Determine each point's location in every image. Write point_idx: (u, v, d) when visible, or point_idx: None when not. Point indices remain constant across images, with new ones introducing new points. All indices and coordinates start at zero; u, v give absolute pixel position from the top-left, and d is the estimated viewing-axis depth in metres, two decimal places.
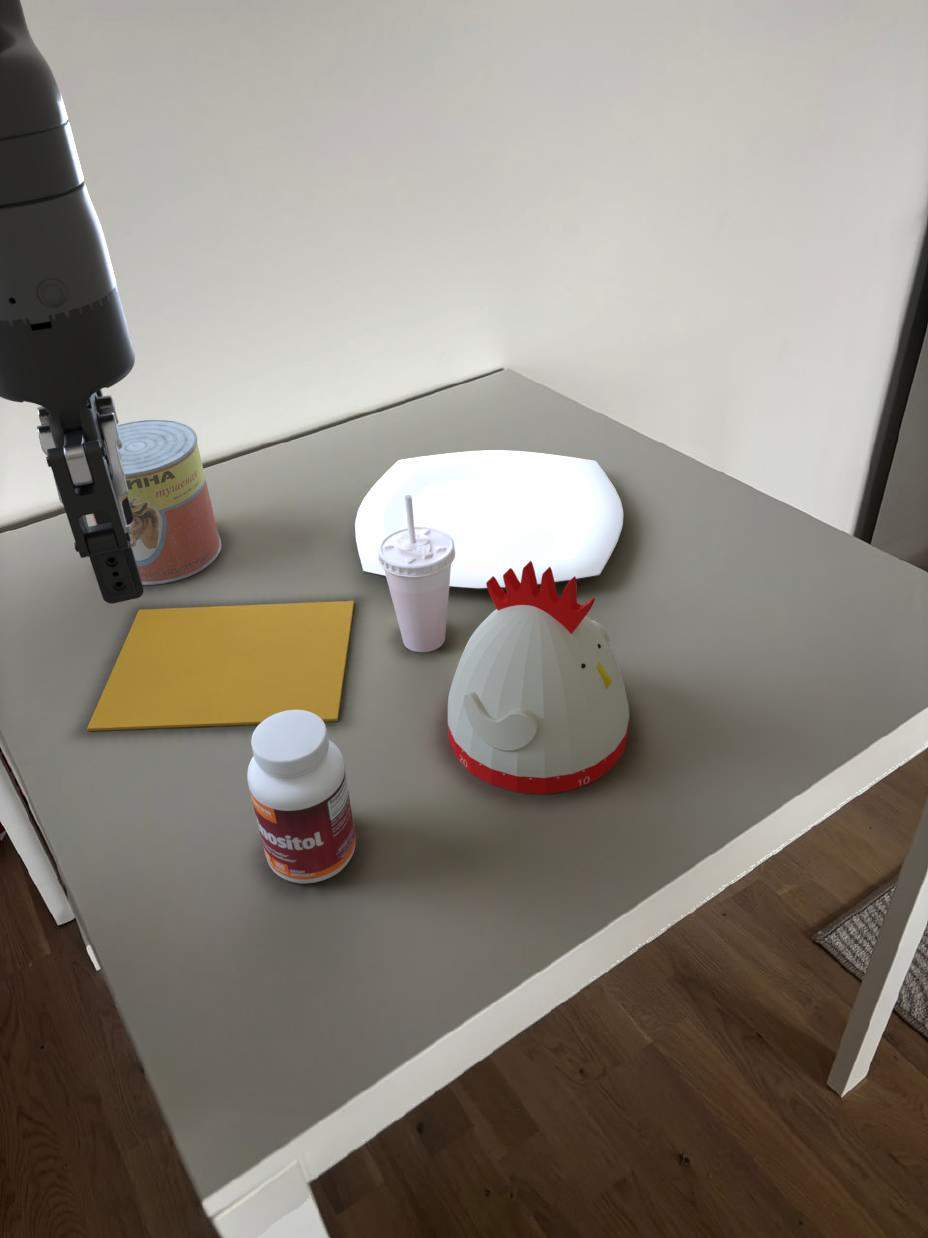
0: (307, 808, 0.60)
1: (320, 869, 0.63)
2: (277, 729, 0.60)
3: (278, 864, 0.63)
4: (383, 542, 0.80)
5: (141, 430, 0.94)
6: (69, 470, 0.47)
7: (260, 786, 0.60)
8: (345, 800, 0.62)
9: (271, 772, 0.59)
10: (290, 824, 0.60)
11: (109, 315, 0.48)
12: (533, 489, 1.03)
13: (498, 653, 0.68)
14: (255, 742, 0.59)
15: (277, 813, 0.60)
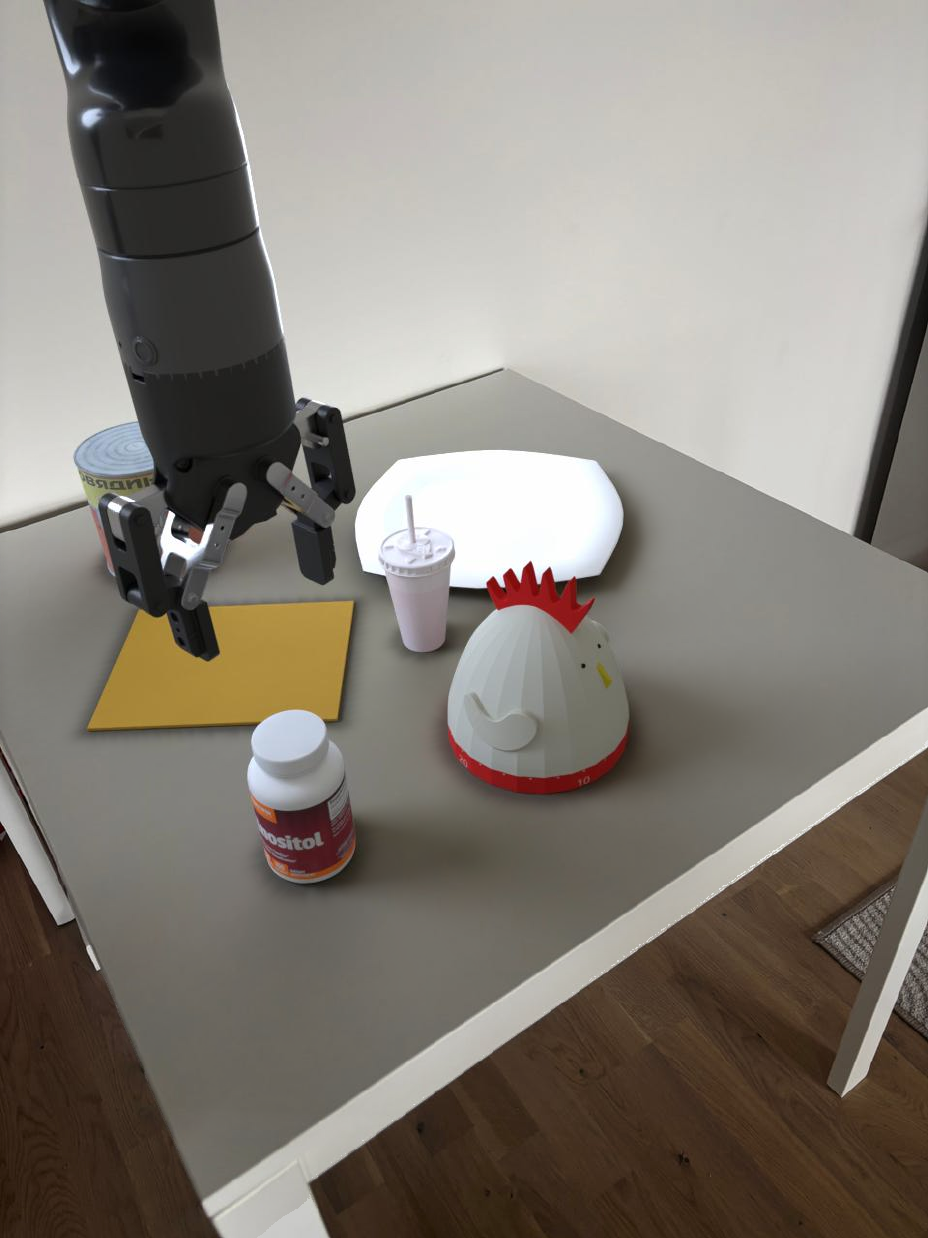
0: (307, 808, 0.60)
1: (320, 869, 0.63)
2: (277, 729, 0.60)
3: (278, 864, 0.63)
4: (383, 542, 0.80)
5: None
6: (109, 521, 0.45)
7: (261, 786, 0.60)
8: (345, 800, 0.62)
9: (271, 772, 0.59)
10: (290, 824, 0.60)
11: (214, 391, 0.43)
12: (533, 489, 1.03)
13: (498, 653, 0.68)
14: (255, 742, 0.59)
15: (277, 813, 0.60)
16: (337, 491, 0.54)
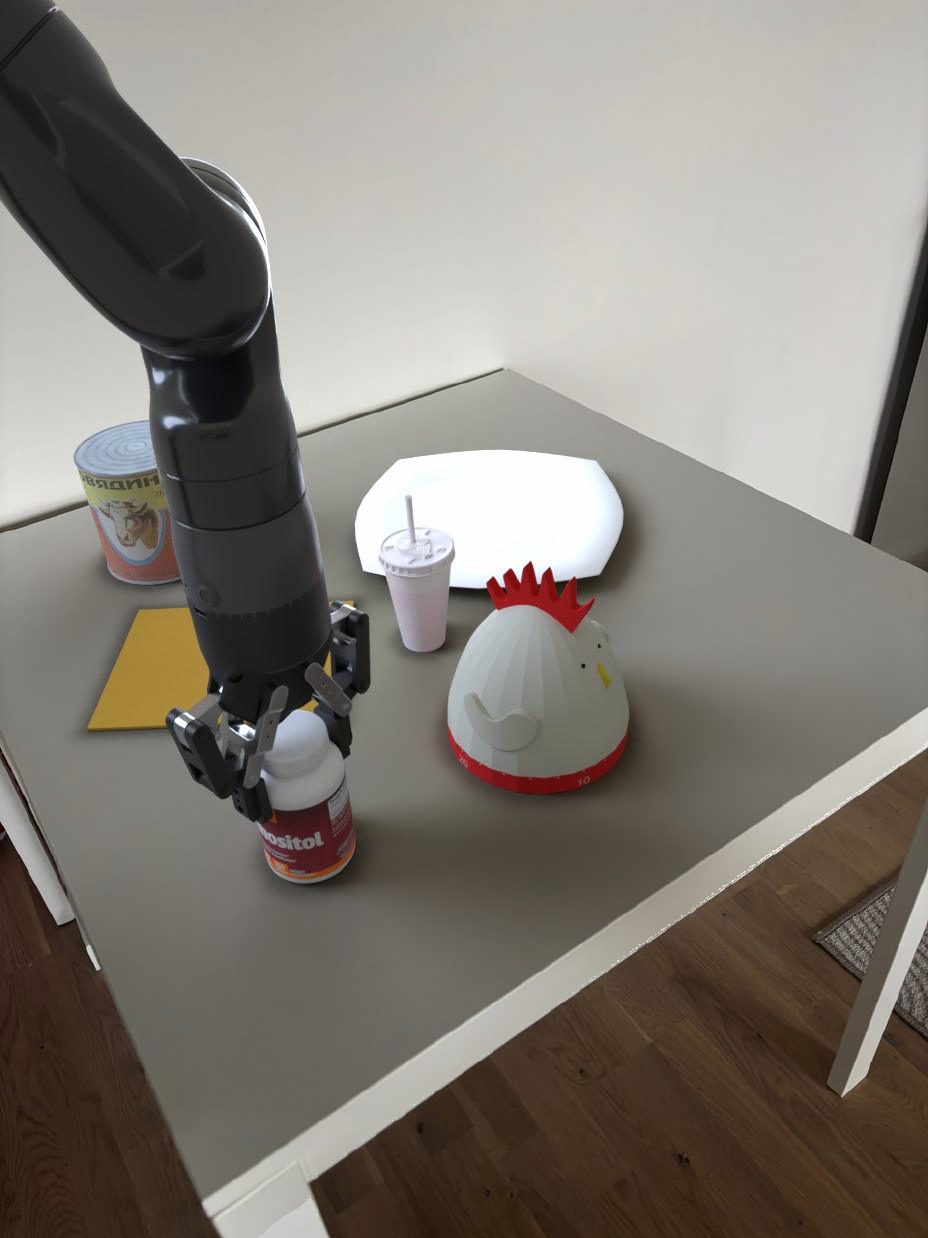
0: (307, 807, 0.60)
1: (320, 869, 0.63)
2: (277, 729, 0.60)
3: (278, 864, 0.63)
4: (383, 542, 0.80)
5: (141, 430, 0.94)
6: (176, 734, 0.53)
7: None
8: (345, 800, 0.62)
9: (271, 772, 0.59)
10: (290, 824, 0.60)
11: (265, 625, 0.50)
12: (533, 489, 1.03)
13: (498, 653, 0.68)
14: None
15: (277, 813, 0.60)
16: (355, 683, 0.62)
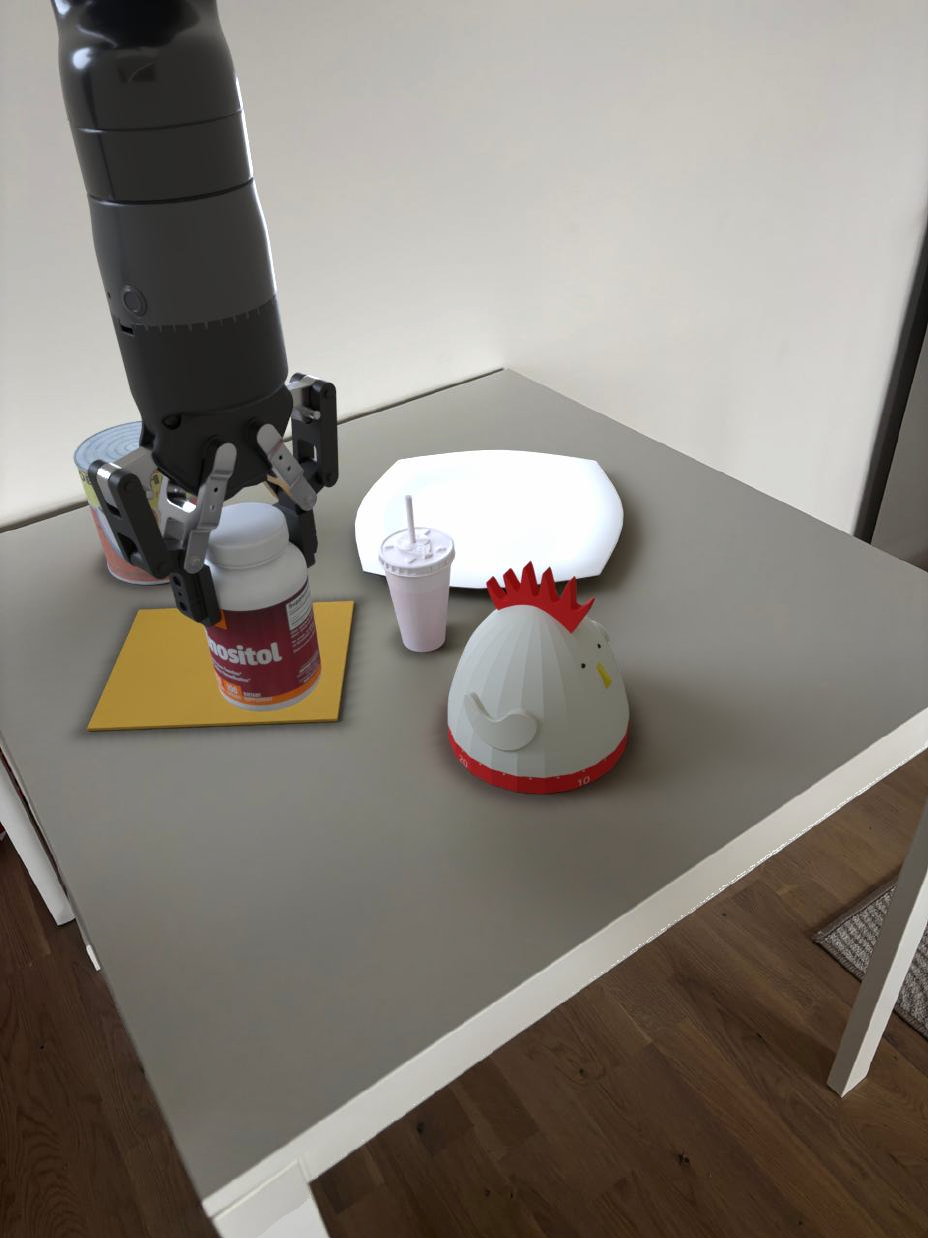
0: (261, 608, 0.51)
1: (278, 692, 0.55)
2: (228, 519, 0.52)
3: (230, 687, 0.55)
4: (383, 542, 0.80)
5: None
6: (101, 489, 0.45)
7: None
8: (307, 611, 0.54)
9: (219, 563, 0.50)
10: (242, 629, 0.52)
11: (203, 344, 0.42)
12: (533, 489, 1.03)
13: (498, 653, 0.68)
14: None
15: (226, 614, 0.51)
16: (320, 471, 0.53)
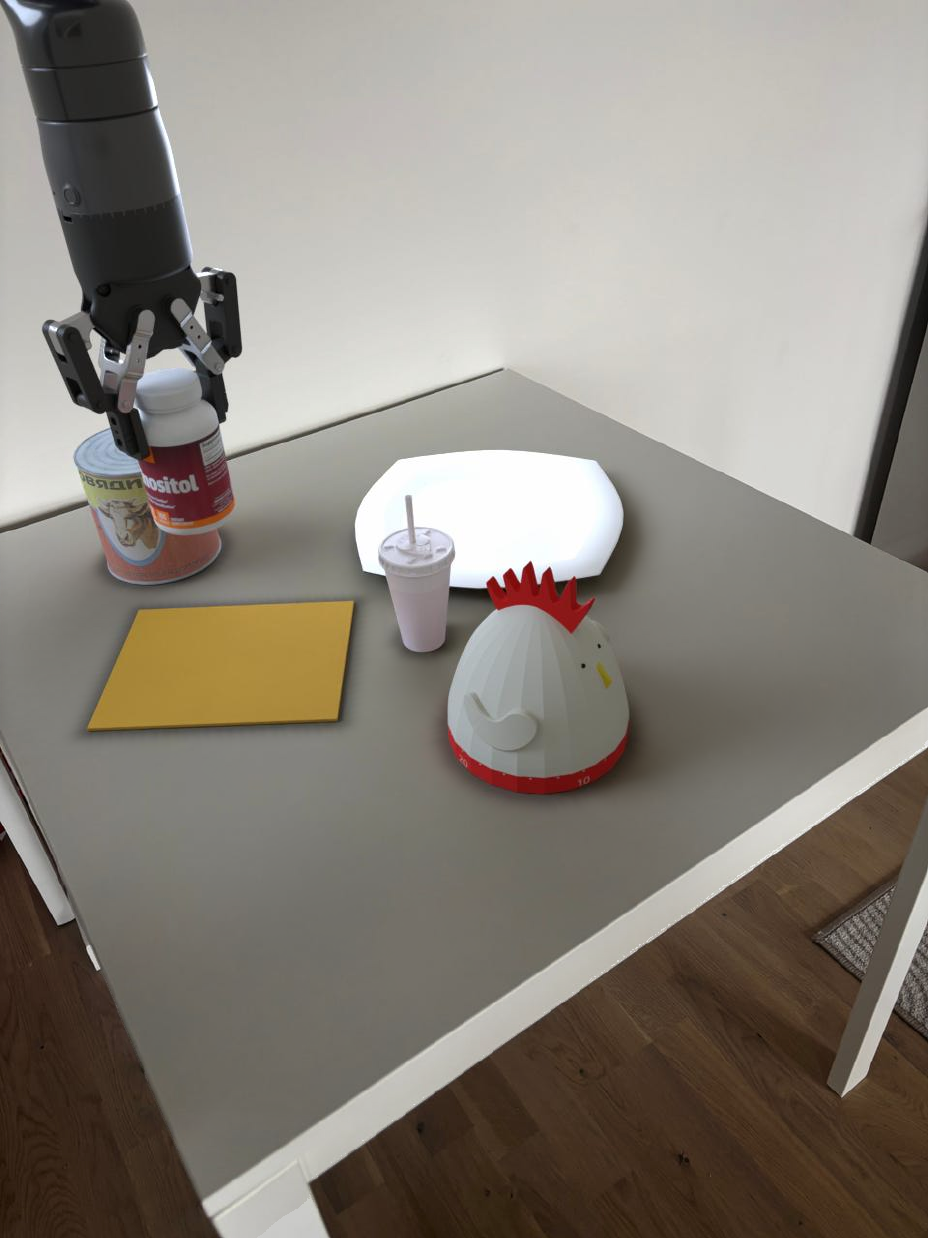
0: (179, 444, 0.67)
1: (197, 518, 0.71)
2: (155, 378, 0.68)
3: (160, 514, 0.71)
4: (383, 542, 0.80)
5: None
6: (52, 341, 0.61)
7: None
8: (219, 453, 0.70)
9: (146, 408, 0.66)
10: (166, 462, 0.68)
11: (122, 228, 0.58)
12: (533, 489, 1.03)
13: (498, 653, 0.68)
14: None
15: (153, 450, 0.67)
16: (227, 344, 0.69)
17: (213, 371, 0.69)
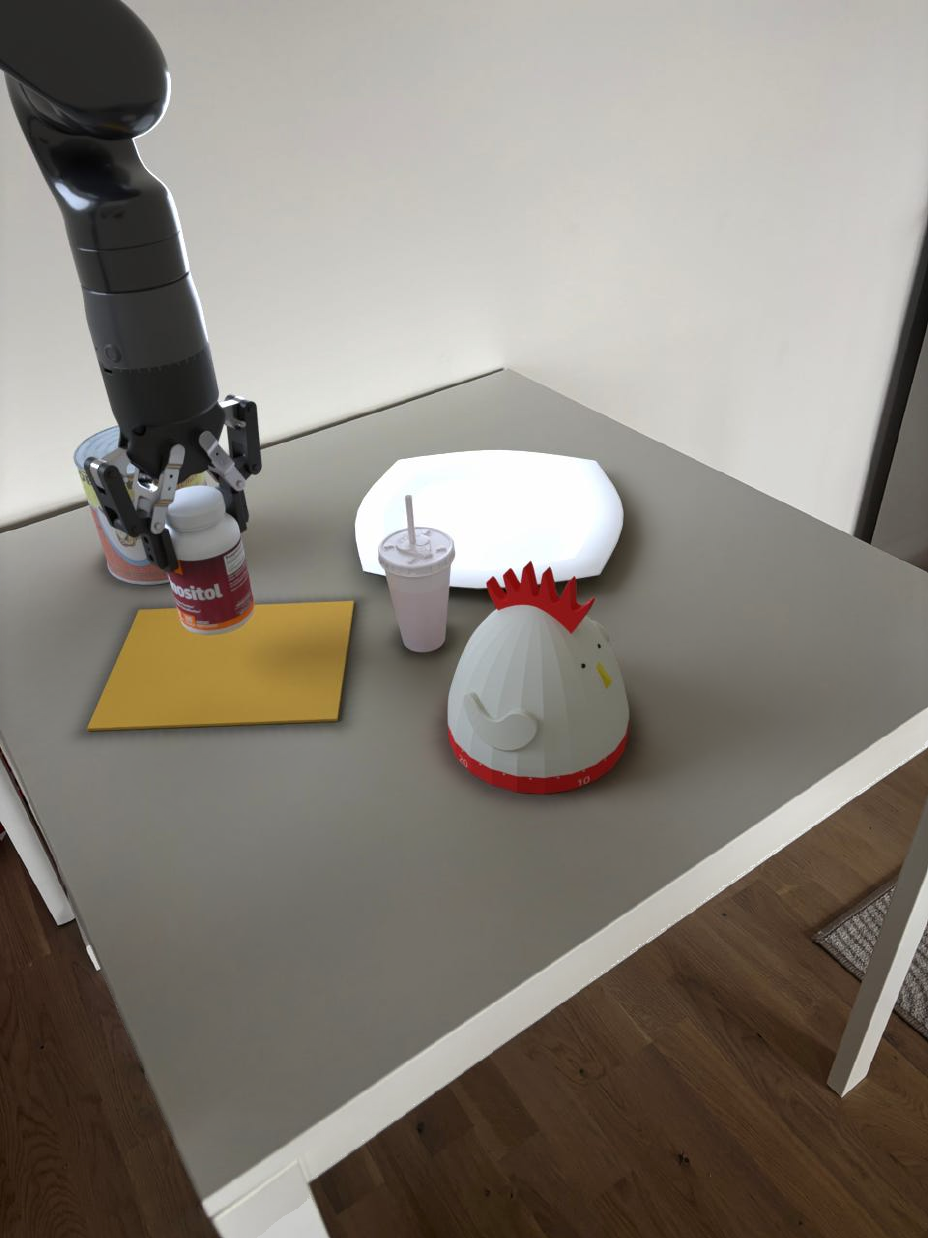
0: (206, 558, 0.74)
1: (221, 620, 0.77)
2: (182, 497, 0.74)
3: (187, 617, 0.77)
4: (383, 542, 0.80)
5: None
6: (92, 476, 0.67)
7: None
8: (240, 562, 0.76)
9: (176, 527, 0.73)
10: (193, 574, 0.74)
11: (158, 380, 0.64)
12: (533, 489, 1.03)
13: (498, 653, 0.68)
14: None
15: (182, 563, 0.74)
16: (248, 463, 0.76)
17: (235, 489, 0.75)
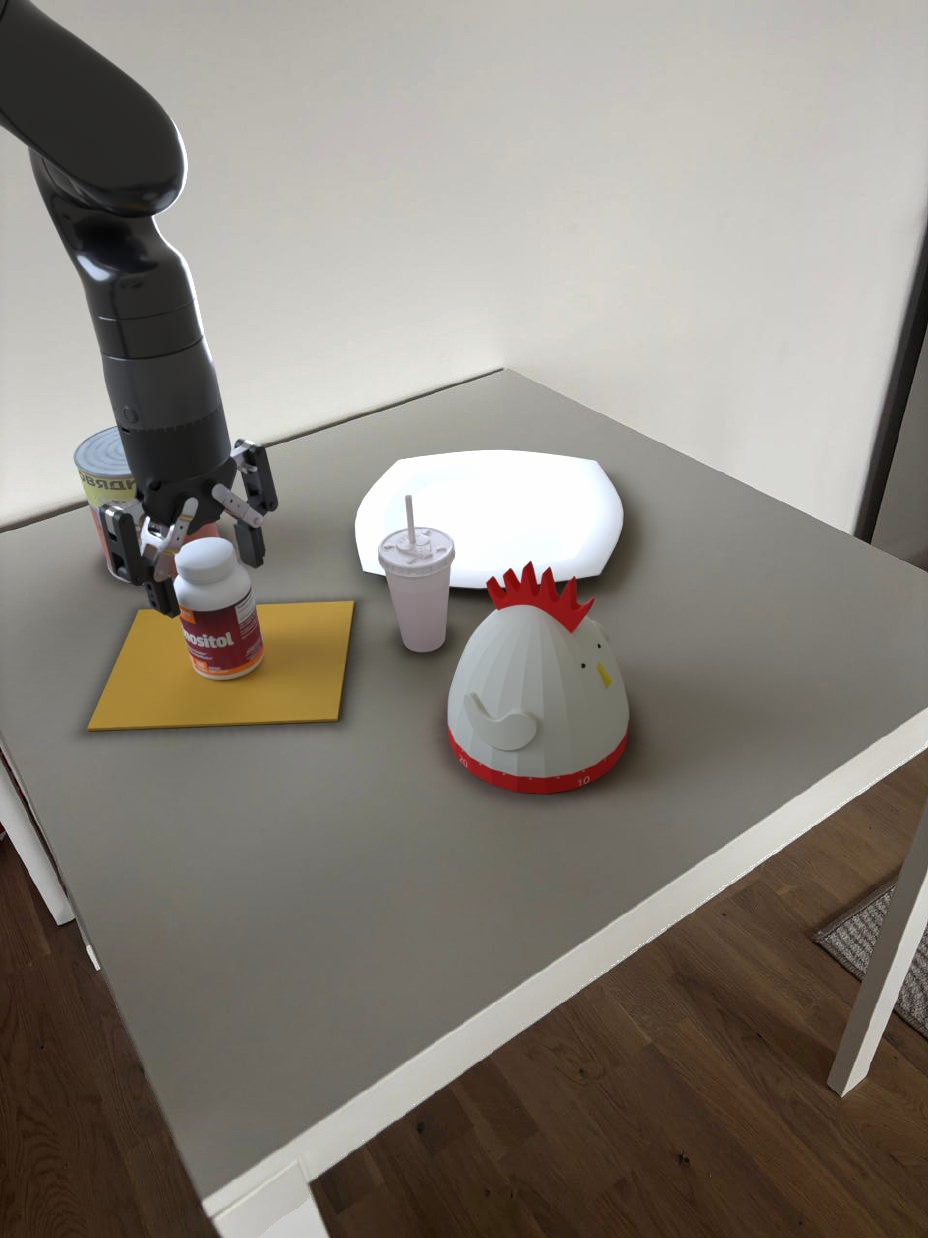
0: (218, 609, 0.76)
1: (232, 666, 0.80)
2: (195, 549, 0.77)
3: (199, 663, 0.80)
4: (383, 542, 0.80)
5: None
6: (106, 522, 0.69)
7: (182, 592, 0.76)
8: (251, 610, 0.79)
9: (189, 579, 0.76)
10: (206, 623, 0.77)
11: (173, 439, 0.67)
12: (533, 489, 1.03)
13: (498, 653, 0.68)
14: (177, 557, 0.76)
15: (195, 613, 0.77)
16: (264, 503, 0.79)
17: (253, 525, 0.78)
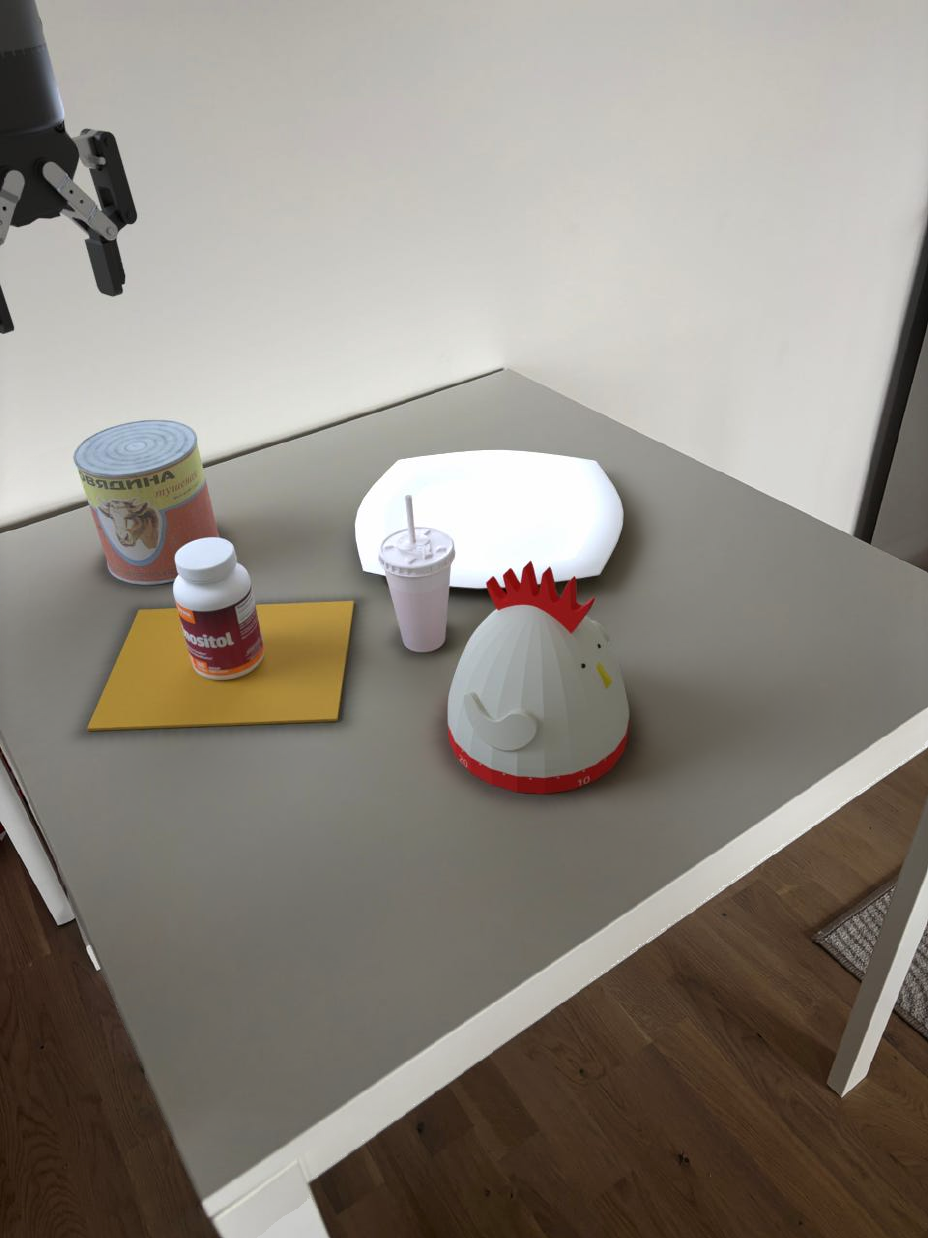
0: (218, 609, 0.76)
1: (232, 666, 0.80)
2: (195, 549, 0.77)
3: (199, 663, 0.80)
4: (383, 542, 0.80)
5: (141, 430, 0.94)
6: None
7: (182, 592, 0.76)
8: (251, 610, 0.79)
9: (189, 579, 0.76)
10: (206, 623, 0.77)
11: None
12: (533, 489, 1.03)
13: (498, 653, 0.68)
14: (177, 557, 0.76)
15: (195, 613, 0.77)
16: (119, 210, 0.67)
17: (105, 236, 0.67)
